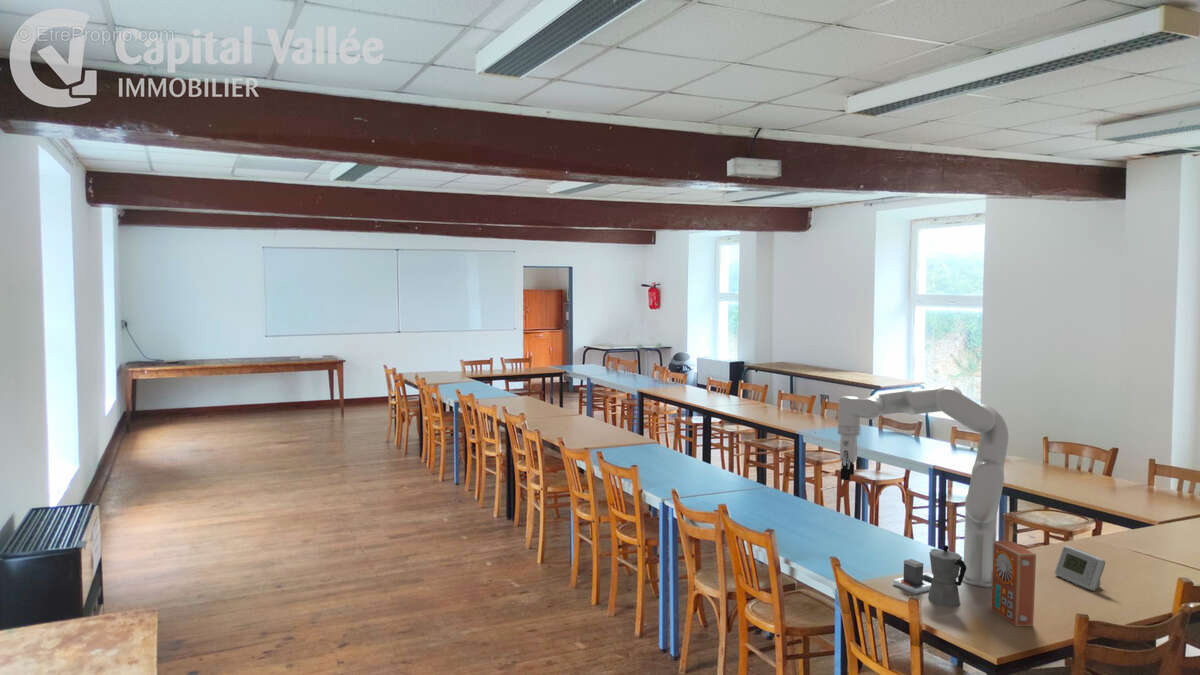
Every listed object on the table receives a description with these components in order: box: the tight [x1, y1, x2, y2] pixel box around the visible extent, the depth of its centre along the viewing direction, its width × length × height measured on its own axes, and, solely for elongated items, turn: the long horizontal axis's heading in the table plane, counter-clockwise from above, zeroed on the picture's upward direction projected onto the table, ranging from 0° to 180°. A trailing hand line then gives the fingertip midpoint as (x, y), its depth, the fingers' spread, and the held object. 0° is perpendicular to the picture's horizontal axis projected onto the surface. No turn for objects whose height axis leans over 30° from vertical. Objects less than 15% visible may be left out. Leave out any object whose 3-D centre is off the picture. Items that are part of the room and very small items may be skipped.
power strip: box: [892, 572, 933, 595], centre depth 253 cm, size 16×9×2 cm, turn 117°
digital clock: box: [1054, 545, 1106, 592], centre depth 258 cm, size 16×9×11 cm, turn 2°
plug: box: [903, 558, 924, 587], centre depth 251 cm, size 4×5×8 cm
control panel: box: [990, 540, 1037, 627], centre depth 228 cm, size 21×7×15 cm
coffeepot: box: [927, 544, 966, 607], centre depth 239 cm, size 15×9×18 cm, turn 14°
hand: (847, 477), depth 277 cm, fingers open, 9 cm apart
